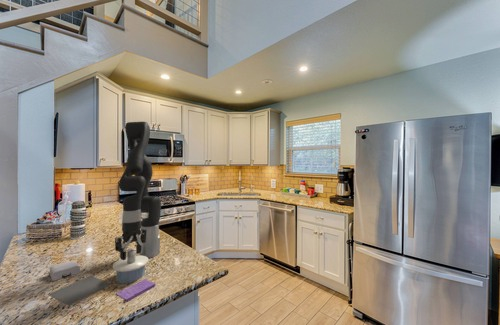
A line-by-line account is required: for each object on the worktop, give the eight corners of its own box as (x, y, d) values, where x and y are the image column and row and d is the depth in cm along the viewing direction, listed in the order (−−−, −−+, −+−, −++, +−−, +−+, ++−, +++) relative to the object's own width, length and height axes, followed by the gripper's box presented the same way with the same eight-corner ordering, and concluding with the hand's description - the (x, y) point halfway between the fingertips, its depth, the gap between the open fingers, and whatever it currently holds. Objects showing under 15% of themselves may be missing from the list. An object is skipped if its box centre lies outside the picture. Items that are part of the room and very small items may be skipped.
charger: (73, 265, 107) (79, 275, 97) (48, 271, 100) (52, 283, 90) (73, 255, 107) (79, 265, 97) (48, 261, 100) (52, 272, 90)
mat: (90, 277, 94) (90, 275, 94) (111, 286, 88) (111, 283, 88) (47, 296, 81) (47, 294, 81) (69, 308, 75) (69, 305, 75)
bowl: (133, 270, 102) (133, 256, 102) (149, 275, 97) (149, 261, 97) (110, 281, 92) (110, 266, 92) (127, 287, 87) (127, 272, 87)
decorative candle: (81, 234, 152) (82, 199, 153) (88, 236, 148) (89, 201, 149) (66, 238, 144) (67, 201, 144) (73, 240, 140) (74, 203, 140)
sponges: (115, 298, 81) (115, 293, 81) (145, 282, 92) (145, 278, 92) (126, 304, 78) (126, 299, 78) (155, 287, 89) (155, 282, 89)
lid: (134, 255, 104) (134, 243, 104) (155, 260, 98) (155, 248, 98) (105, 267, 91) (105, 254, 91) (127, 274, 85) (127, 260, 86)
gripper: (140, 215, 103) (139, 249, 103) (110, 222, 90) (109, 261, 90) (151, 217, 100) (150, 251, 100) (122, 224, 87) (121, 264, 87)
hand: (131, 256), depth 95 cm, fingers open, 6 cm apart
